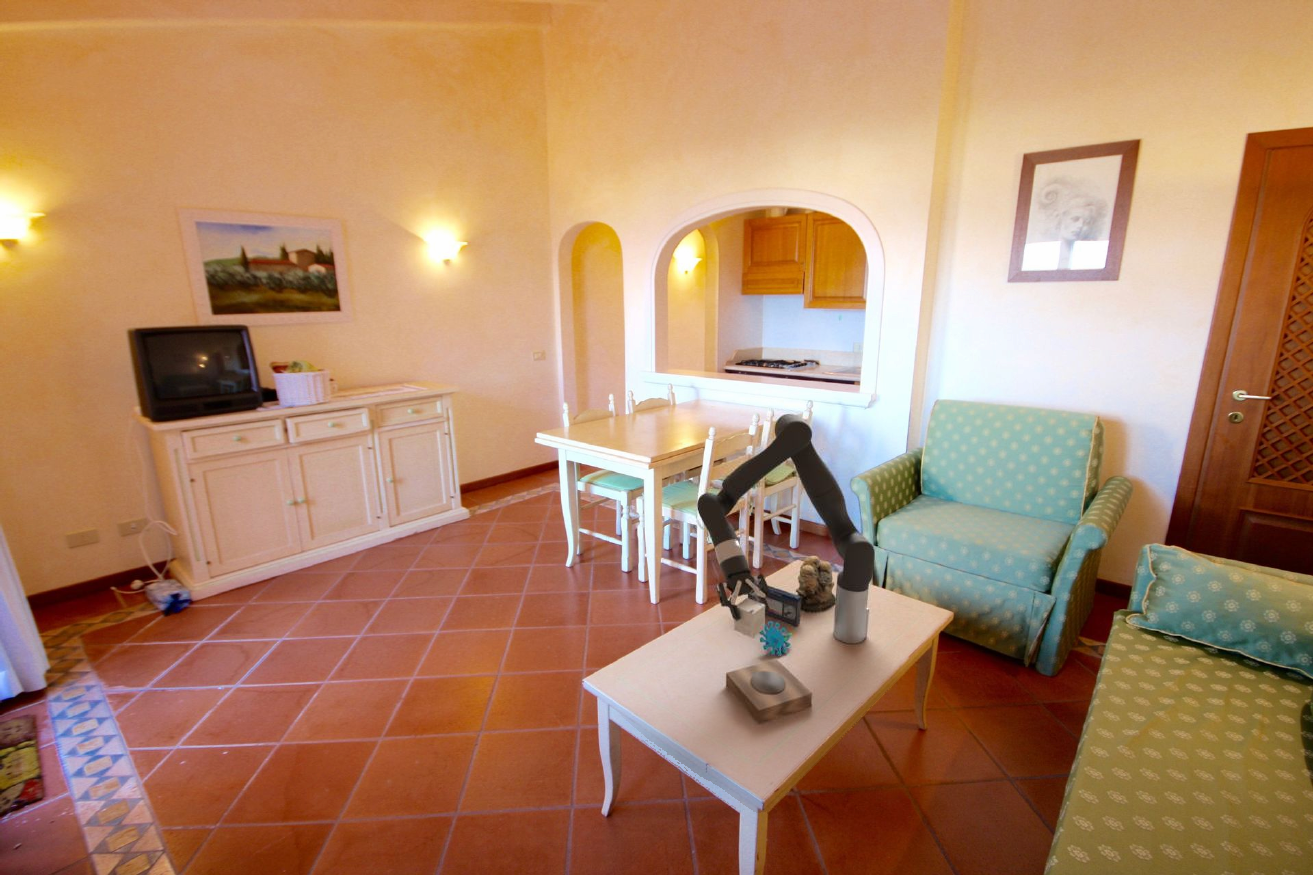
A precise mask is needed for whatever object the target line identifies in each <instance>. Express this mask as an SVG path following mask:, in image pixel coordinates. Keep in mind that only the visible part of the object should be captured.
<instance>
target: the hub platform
mask: <svg viewBox="0 0 1313 875" xmlns="http://www.w3.org/2000/svg"><path fill="white" fill-rule="evenodd" d="M725 679H726V680H725V686H726V688H727V690H729V691H730V693H731V694H732V695H733V696H734V697H735V699H736V700H737V701H738V702H739V703H740V704H741V706H742V707H743V708H744V709H745V711H746V712H747V713H748V714H749V715H750V717H752V719H753V720H754V721H755V723H756V724H758V725H760V724H763V723H766V722H769V721H772V720H776V719H778V718H782V717H784V716H788V715H790V714H793V713H797V712H800V711H803V710H806V709H808V708H811V707H812V700H813V692H811V690H809V689H808V688H807V687H806V686H805V684H803V683H802V682H801V681H800V680H799V679H798V678H797V677H796V676H795V675H794V674H793V673H792V672H791V671H790V670H789V669H787V667H785V666H784V664H782V662H780V661H779V660H778V659H777V658H774V659H770V660H768V661H763V662H760V663H757V664H753V665H750V666H746V667H742V668H739V669H735V670H732V671H729V672H726V674H725Z"/></svg>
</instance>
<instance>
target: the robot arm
mask: <svg viewBox="0 0 1313 875" xmlns="http://www.w3.org/2000/svg"><path fill="white" fill-rule="evenodd" d="M774 435H775V438H774V440H773V441H772V442H771V443H770V444H769V445H768V446H767V447H766V448H765V449H763V450H762V451H761V452H759V453H758V454H756V455H755V456H753V457H750V459H748V460H746V461H744V462H743V463H741V464H740V465H739V466H737V468H735V469H734V470H733V471H732V472H731V473H730V474H728V476H726V478H724V480H723V481H722V482H721V489H720V491H719V492H718V493H717V494H715V493H712V492H705V493H703V494H701V495H699V497H698V499H697V512H698V514H699V517H700V518H701V521H702V523H703V524H704V527H705V529H706V530H707V531H708V533H709V536H710V538H711V542H712V545H713V547H714V551H715V555H716V559H717V562H718V564H719V567H720V570H721V572H722V576H723V579H724V580H725V582H721V581H720V582H719V583H718V584H716V586H715V588H716V593H717V595H718V599H719V602H720V606H721V607H727V608H729V611H730V613H731V617H732V618H733V620H734V621H735V620H736V621H738V620H740V619H741V616H740V614H739V611H738V608H737V604H736V601H737V599H738V597H741V596H743V595H744V596H748V594H749V593H750V594H751V595H752V596H755V597H756V598H757V599H759V600H760V601H759V603H761V604H764V605H765V614H767V613H768V612H769V606H768V603H767V601H766V596H767V595H769V594H770V590H769V587H768V586H769V584H768V583H767V581H766V578H765V576H764V574H763V573H759V574H758V575H753V574H752V572H751V568H750V565H749V563H748V560H747V557H746V556H745V553H744V550H743V547H742V545H741V543H740V541H739V540H738V537H737V534H736V531H735V528H734V527H733V525H732V524H731V522H729V521H728V519H727V518H726V517H727V516H728V515H729V514H730V513H731V512H732V510H733V509H734V508H735V506H736V505H737V503H738V502H739V500H740V499H741V498H743V497H744V496H745V495H746V494H747V493H748V492H749V491H750V490H752V489H753V487H755V486H756V484H757V483H758V482H760V481H761V480H762V479H763V478H764V477H766V476H767V475H768V474H770V473H771V472H772V471H773V470H775V469H776V468H778V466H780V465H781V464H783V463H785V461H787V460H789V459H791V461H792V464H794V468H795V470H796V472H797V474H798V477H799V480H800V481H801V482H800V483H801V484H802V486H803V489H804V490H805V493H806V495H807V497H808V498H809V500H810V502H811V504H812V507H813V508H814V509H815V511H816V512H817V514H818V515H819V517H820V519H821V520H822V521H823V523H824V524H825V526H826V528H827V530H828V532H829V534H830V537H831V539H832V543H833V544H834V548H835V551H836V553H837V554H838V555H839V557H840V558H841V559H842V560H843V565H842V566H843V567H842V571H840V572H838V574H837V577H836V578H837V579H836V588H835V598H836V600H835V604H834V605H835V606H834V614H833V615H834V616H833V618H834V619H833V631H832V632H833V634H832V635H833V636H834V637H835V638H836V639H837V640H838V641H840V642H842V643H845V644H855V645H856V644H860V643H862V642H863V641H864V640H865V639H866V638H867V637H868V631H869V630H868V628H869V627H868V626H869V618H870V616H869V615H870V608H868V598H869V586H870V583H871V581H872V579H873V575H874V567H875V561H876V560H875V558H876V553H875V552H876V551H875V547H874V546H873V544H872V543H871V542H870V541H869V540H868V539H867V538H866V537H865V536H864V535H863V534H862V533H861V532H860V531H859V529H857V527H856V526H855V524H854V523H853V521H852V519H851V517H850V516H849V514H848V510H847V504H846V499H845V497H844V494H843V491H842V489H841V487H840V485H839V483H838V481H837V480H836V478H835V476H834V474H833V473H832V471H831V470H830V468H829V467H828V466H827V464H826V463H825V462H824V460H823V459H822V458H821V456H820V455H819V454H818V452H817V450H816V449H815V447H814V445H813V442H812V438H813V432H812V428H811V426H810V425H809V424H808V423H807V421H805V420H804V419H803V418H802V417H801V416H799V415H797V414H794V413H787V414H786V413H785V414H783V415H780V417H778V418H777V420H776V422H775V424H774ZM754 581H756V583H757V584H758V585H759V587H760V589H761V591H760V589H759V588H758V587H757V586H756V585H754ZM727 589H728V590H729V591H730V593H729V597H728V595H727V593H726V590H727ZM752 589H753V590H752Z"/></svg>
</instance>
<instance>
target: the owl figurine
mask: <svg viewBox="0 0 1313 875" xmlns="http://www.w3.org/2000/svg"><path fill="white" fill-rule="evenodd" d="M820 561H821V560H820V558H819V557H818V556H816V555H809V556H807V557H806V558H805V559H804V561H803V562H802V563H801V565H800V569H799V575H798V576H797V580H798V584H799V587H798V588H797V589H795V592H796V593H797V594H796V595H797V596H801V602H800V603H801V611H803V612H805V613H818V612H821V611H822V612H823V611H827V610H829V609H831V608H832V607H833V606H834V605H835V601H836V595H835V594H834V593H833V589H834V588H833V587H834V586H835V582H834V581H833V579H834V578H833V570H832V565H831V564H830V562H828V561H821V562H820Z"/></svg>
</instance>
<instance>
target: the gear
mask: <svg viewBox="0 0 1313 875" xmlns="http://www.w3.org/2000/svg"><path fill="white" fill-rule="evenodd" d="M773 625H774V627H773ZM779 627H781V624H780V623H779V621H778V622H775V623H774V621H768V623H765V628H764V629H763V630H762V631H761V632H760V633H758V635H762V636H761V637H759V643H765V644H764V645H762V648H763V650H765V651H766V650H768V649H769V648H771V650H769V651H768V654H769V655H771V656H773V655H775V656H777V657H781V656H782V654H786V653H787V652H788V650H787V649H786V648H790V646H791V643H790V642H787V641H788V640H790V638H792V637H793V634H792V633H790V632H789V633H787V634H782V633H785V632H786V631H787V629H786V627H783V626H782V628H780V629H778V628H779ZM775 650H777V651H776V652H775Z"/></svg>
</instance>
